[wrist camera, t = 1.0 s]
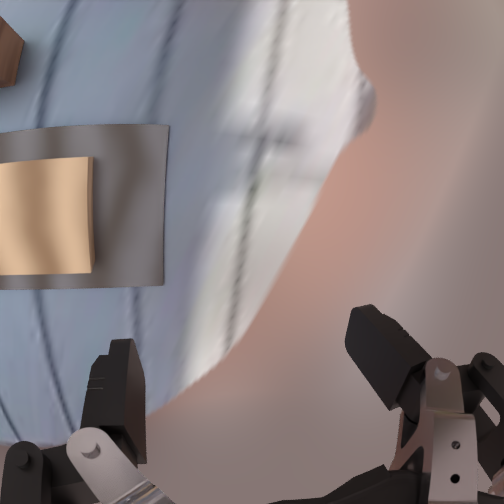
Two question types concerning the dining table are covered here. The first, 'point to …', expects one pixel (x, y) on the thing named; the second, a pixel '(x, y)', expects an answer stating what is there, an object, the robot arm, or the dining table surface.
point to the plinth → (82, 206)
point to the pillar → (9, 54)
